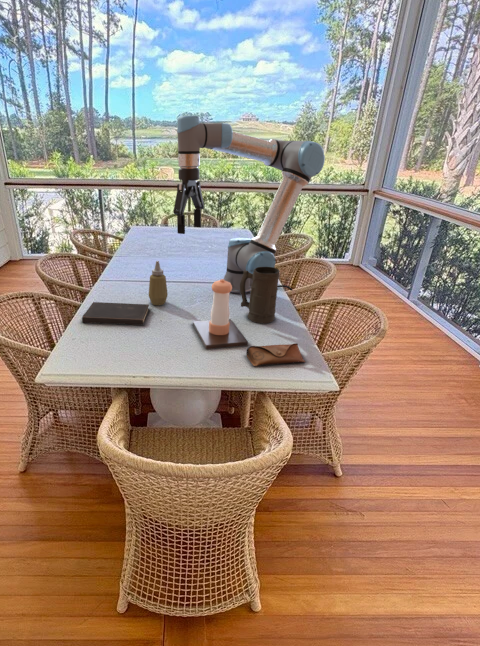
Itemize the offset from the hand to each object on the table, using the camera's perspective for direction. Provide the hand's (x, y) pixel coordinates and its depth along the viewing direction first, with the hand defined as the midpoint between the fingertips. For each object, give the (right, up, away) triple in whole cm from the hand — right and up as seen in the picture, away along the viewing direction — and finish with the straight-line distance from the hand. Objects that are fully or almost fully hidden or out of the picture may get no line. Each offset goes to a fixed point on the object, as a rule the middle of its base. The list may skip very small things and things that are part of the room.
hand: (189, 230), depth 150 cm
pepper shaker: (+11, -39, -7) cm, 41 cm away
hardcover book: (-29, -32, +6) cm, 43 cm away
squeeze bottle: (-14, -25, +18) cm, 34 cm away
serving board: (+11, -40, -6) cm, 42 cm away
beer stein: (+26, -32, +8) cm, 42 cm away
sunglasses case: (+28, -50, -21) cm, 61 cm away
